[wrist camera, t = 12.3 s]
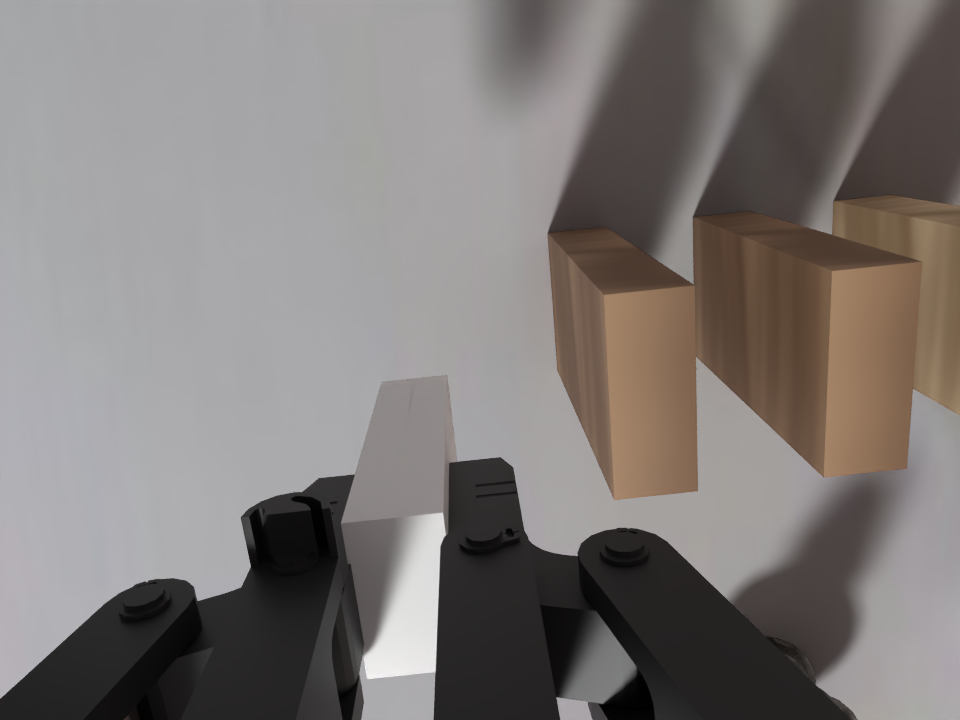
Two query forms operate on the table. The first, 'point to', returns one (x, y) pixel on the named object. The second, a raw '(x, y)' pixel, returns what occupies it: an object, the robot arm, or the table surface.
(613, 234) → the domino
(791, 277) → the domino
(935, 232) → the oak domino
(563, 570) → the robot arm
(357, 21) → the table surface
